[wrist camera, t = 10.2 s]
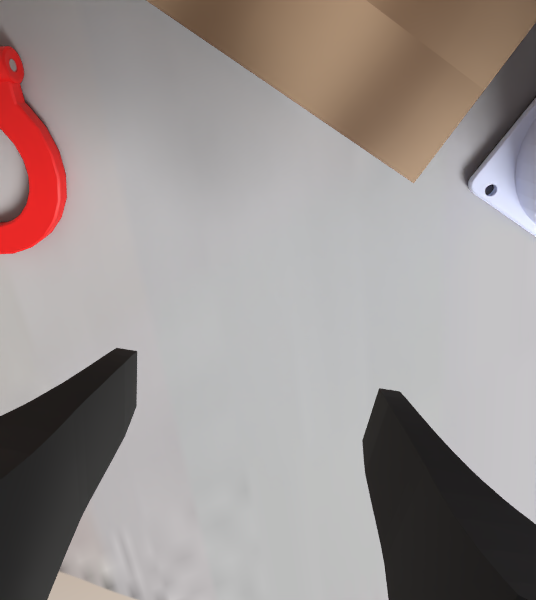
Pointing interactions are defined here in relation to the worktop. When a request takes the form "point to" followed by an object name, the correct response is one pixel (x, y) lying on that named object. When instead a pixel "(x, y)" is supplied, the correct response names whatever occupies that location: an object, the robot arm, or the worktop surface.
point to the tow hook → (29, 162)
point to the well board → (369, 61)
